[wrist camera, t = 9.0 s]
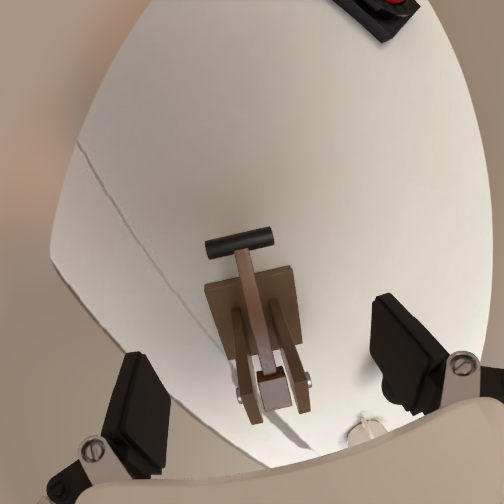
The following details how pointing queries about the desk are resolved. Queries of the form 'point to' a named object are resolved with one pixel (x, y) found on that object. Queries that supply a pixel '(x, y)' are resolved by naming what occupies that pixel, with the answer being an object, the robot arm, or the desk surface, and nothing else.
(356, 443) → the mug
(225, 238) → the lever
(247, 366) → the bracket
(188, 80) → the desk surface
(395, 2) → the button
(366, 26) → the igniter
